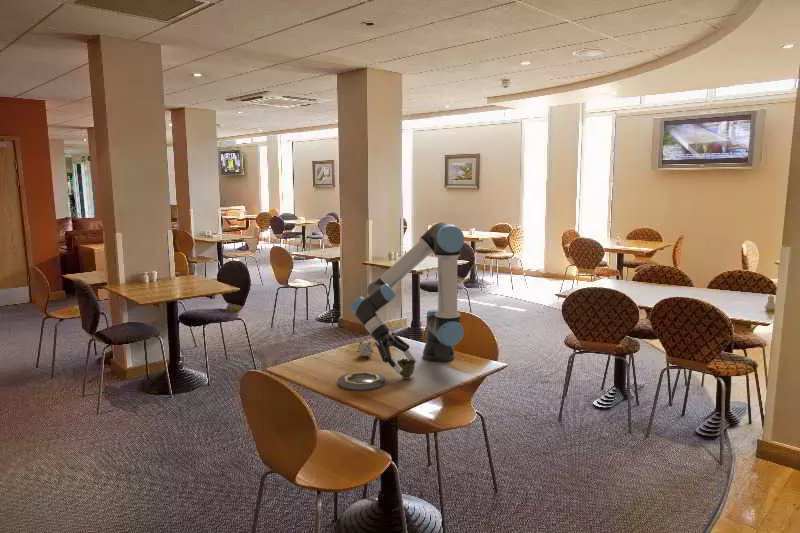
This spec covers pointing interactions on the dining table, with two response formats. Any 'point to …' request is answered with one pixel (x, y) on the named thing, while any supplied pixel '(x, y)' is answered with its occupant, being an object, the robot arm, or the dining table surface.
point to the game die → (365, 348)
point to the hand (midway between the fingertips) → (407, 367)
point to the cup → (406, 368)
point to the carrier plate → (361, 381)
